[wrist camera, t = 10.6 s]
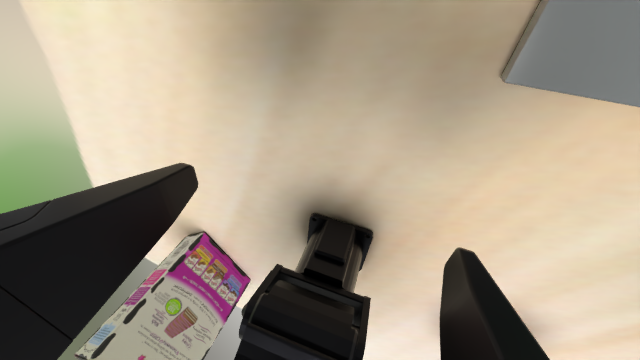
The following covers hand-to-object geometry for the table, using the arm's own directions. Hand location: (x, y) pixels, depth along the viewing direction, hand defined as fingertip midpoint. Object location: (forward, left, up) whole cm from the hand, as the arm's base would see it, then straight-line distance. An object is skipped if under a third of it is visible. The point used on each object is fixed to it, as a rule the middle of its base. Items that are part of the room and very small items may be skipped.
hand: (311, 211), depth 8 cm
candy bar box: (-29, +17, -12) cm, 36 cm away
